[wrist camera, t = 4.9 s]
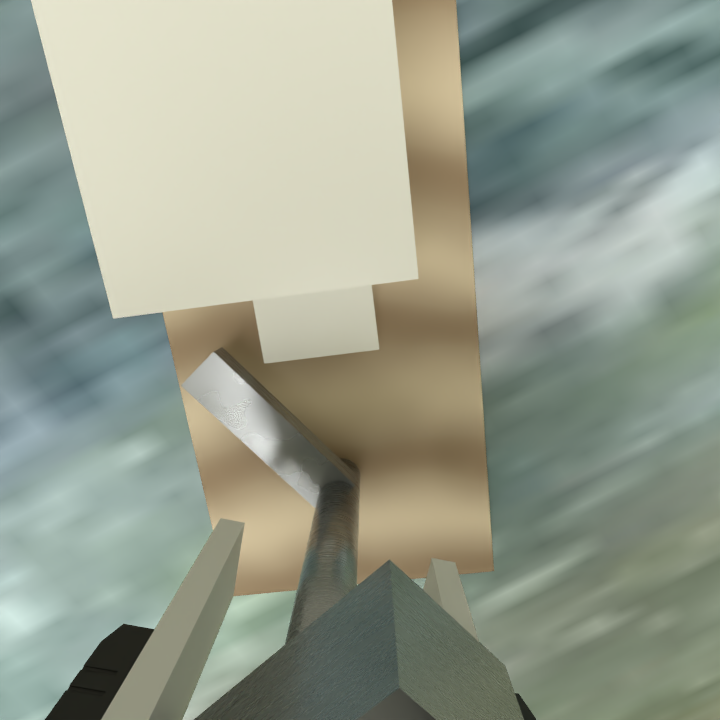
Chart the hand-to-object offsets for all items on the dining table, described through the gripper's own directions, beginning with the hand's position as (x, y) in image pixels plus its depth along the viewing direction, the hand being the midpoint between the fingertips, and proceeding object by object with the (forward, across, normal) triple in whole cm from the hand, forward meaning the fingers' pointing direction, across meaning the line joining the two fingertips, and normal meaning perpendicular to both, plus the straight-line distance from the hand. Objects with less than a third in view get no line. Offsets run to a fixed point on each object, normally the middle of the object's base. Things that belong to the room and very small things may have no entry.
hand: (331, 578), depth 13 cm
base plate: (+9, +2, -6) cm, 11 cm away
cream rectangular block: (+7, +4, -12) cm, 14 cm away
